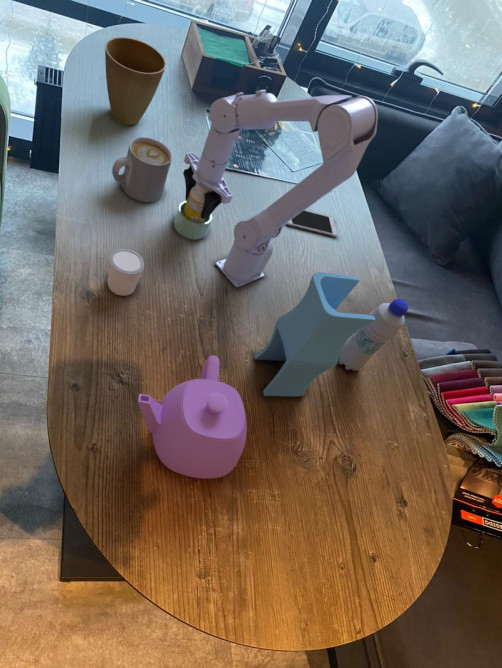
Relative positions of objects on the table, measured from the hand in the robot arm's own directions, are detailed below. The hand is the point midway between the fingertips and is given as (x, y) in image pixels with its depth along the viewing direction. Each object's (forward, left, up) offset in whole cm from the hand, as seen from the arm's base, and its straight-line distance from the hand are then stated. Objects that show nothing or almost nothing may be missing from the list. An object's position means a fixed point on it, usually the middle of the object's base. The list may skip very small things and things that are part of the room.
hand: (197, 208), depth 116 cm
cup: (0, 0, -6) cm, 6 cm away
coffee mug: (+5, -16, -6) cm, 18 cm away
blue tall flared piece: (+9, +43, -6) cm, 44 cm away
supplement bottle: (0, 0, -3) cm, 3 cm away
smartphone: (-35, +10, -6) cm, 37 cm away
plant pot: (-9, -41, -6) cm, 42 cm away
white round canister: (+26, +9, -6) cm, 28 cm away
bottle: (-9, +48, -6) cm, 49 cm away
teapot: (+36, +43, -6) cm, 56 cm away
